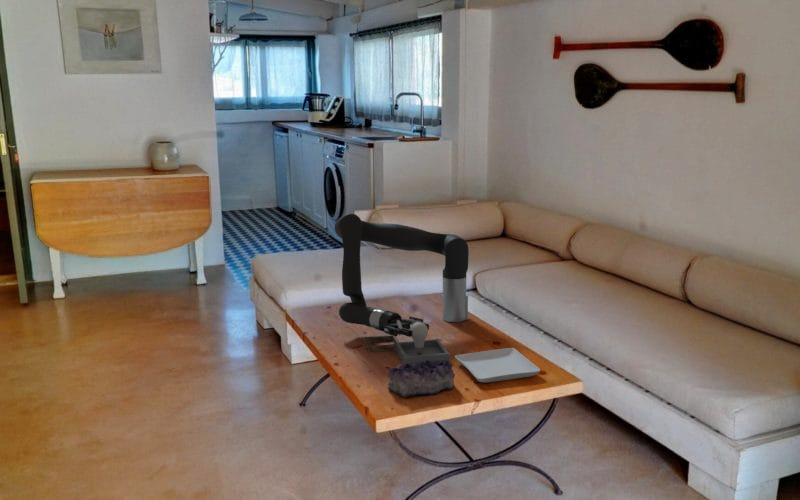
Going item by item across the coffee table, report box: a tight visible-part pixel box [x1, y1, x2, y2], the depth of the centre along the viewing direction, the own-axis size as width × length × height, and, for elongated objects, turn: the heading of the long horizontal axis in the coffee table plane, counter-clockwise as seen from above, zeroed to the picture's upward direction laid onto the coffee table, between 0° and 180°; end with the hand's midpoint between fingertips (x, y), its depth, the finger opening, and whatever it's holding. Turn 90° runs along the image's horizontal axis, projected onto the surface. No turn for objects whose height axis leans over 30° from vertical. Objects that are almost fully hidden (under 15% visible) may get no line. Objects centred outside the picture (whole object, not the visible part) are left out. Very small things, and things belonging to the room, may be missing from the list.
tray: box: [395, 338, 451, 365], centre depth 237 cm, size 15×15×3 cm
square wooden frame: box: [364, 334, 400, 353], centre depth 248 cm, size 11×11×2 cm
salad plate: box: [454, 347, 541, 384], centre depth 223 cm, size 21×21×3 cm
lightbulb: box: [410, 322, 429, 354], centre depth 235 cm, size 6×6×11 cm
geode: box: [387, 360, 456, 398], centre depth 209 cm, size 20×12×10 cm, turn 109°
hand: (420, 330), depth 236 cm, fingers open, 8 cm apart
